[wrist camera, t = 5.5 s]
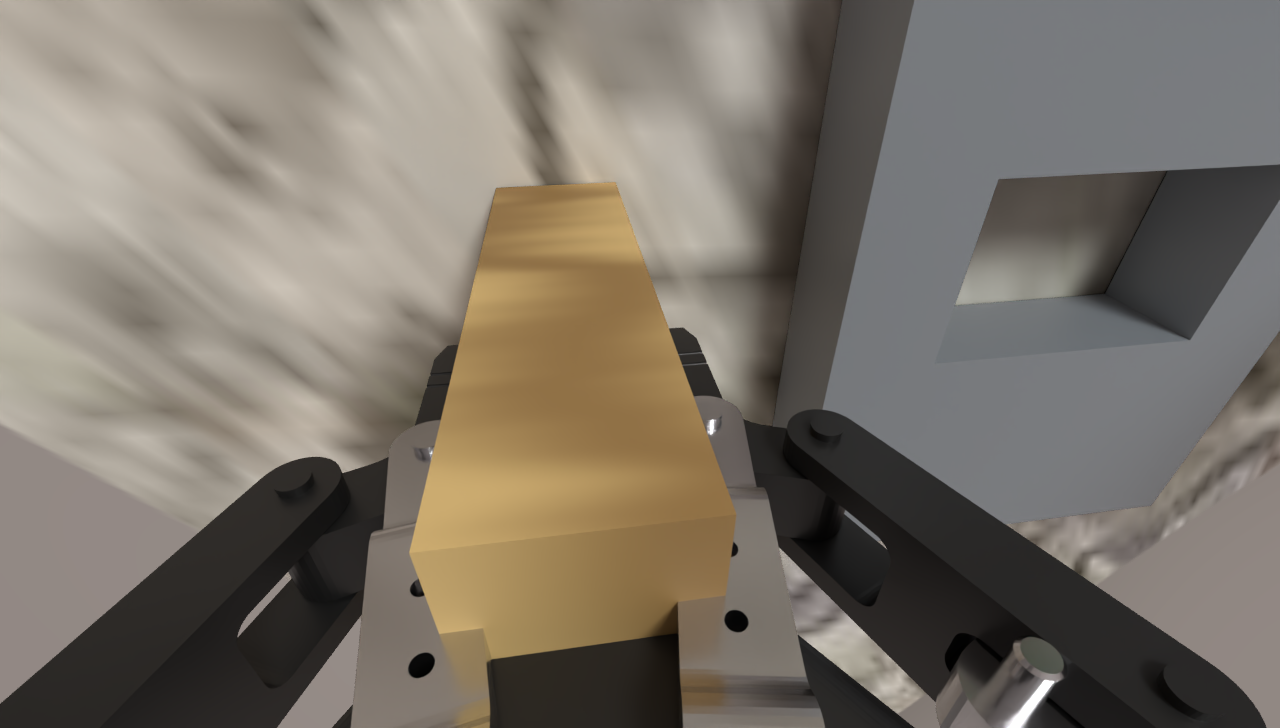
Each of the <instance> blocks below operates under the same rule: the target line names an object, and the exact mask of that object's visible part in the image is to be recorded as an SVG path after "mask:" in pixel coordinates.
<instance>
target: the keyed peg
mask: <svg viewBox="0 0 1280 728" xmlns="http://www.w3.org/2000/svg"><path fill="white" fill-rule="evenodd" d="M736 515H737V514H736V512H735V509H734V506H733V503H732V501H731V498H730V495H729V492H728V490H727V487H726V484H725V481H724V479H723V476H722V473H721V470H720V468H719V465H718V462H717V459H716V457H715V454H714V451H713V448H712V446H711V443H710V440H709V438H708V435H707V432H706V429H705V427H704V424H703V421H702V418H701V416H700V413H699V410H698V407H697V405H696V402H695V399H694V396H693V394H692V391H691V388H690V385H689V383H688V380H687V377H686V374H685V372H684V369H683V366H682V363H681V361H680V358H679V355H678V352H677V350H676V347H675V344H674V342H673V339H672V336H671V333H670V331H669V328H668V325H667V322H666V320H665V317H664V314H663V311H662V309H661V306H660V303H659V300H658V298H657V295H656V292H655V289H654V287H653V284H652V281H651V278H650V276H649V273H648V270H647V267H646V265H645V262H644V259H643V257H642V254H641V251H640V248H639V246H638V243H637V240H636V237H635V235H634V232H633V229H632V226H631V224H630V221H629V218H628V215H627V213H626V210H625V207H624V204H623V202H622V199H621V196H620V193H619V191H618V188H617V185H616V182H612V183H591V184H569V185H548V186H527V187H506V188H496V191H495V195H494V199H493V204H492V208H491V212H490V216H489V220H488V225H487V229H486V233H485V237H484V241H483V246H482V250H481V254H480V258H479V262H478V266H477V271H476V275H475V279H474V283H473V287H472V292H471V296H470V300H469V304H468V308H467V313H466V317H465V321H464V325H463V329H462V334H461V338H460V342H459V346H458V350H457V354H456V359H455V363H454V367H453V371H452V375H451V380H450V384H449V388H448V392H447V396H446V401H445V405H444V409H443V413H442V417H441V422H440V426H439V430H438V434H437V438H436V442H435V447H434V451H433V455H432V459H431V463H430V468H429V472H428V476H427V480H426V484H425V489H424V493H423V497H422V501H421V505H420V510H419V514H418V518H417V522H416V526H415V530H414V535H413V539H412V543H411V547H410V551H409V554H410V557H411V559H412V562H413V565H414V568H415V570H416V573H417V576H418V578H419V581H420V584H421V586H422V589H423V592H424V595H425V597H426V600H427V603H428V605H429V608H430V611H431V613H432V616H433V619H434V621H435V624H436V627H437V630H438V632H439V634H443V633H450V632H458V631H465V630H473V629H480V628H483V630H484V633H485V637H486V640H487V644H488V647H489V651H490V654H491V659H497V658H504V657H512V656H519V655H526V654H533V653H540V652H547V651H554V650H561V649H568V648H575V647H582V646H589V645H597V644H604V643H611V642H618V641H625V640H632V639H639V638H646V637H653V636H660V635H667V634H675V633H677V631H676V627H677V608H678V602H681V601H688V600H695V599H703V598H710V597H718V596H725V595H726V590H727V582H728V575H729V567H730V560H731V553H732V545H733V538H734V530H735V523H736Z"/></svg>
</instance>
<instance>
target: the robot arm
mask: <svg viewBox="0 0 1280 728" xmlns="http://www.w3.org/2000/svg"><path fill="white" fill-rule="evenodd" d="M669 331H670V333H671V336H672V339H673V342H674V344H675V347H676V350H677V352H678V355H679V358H680V361H681V363H682V366H683V369H684V372H685V374H686V377H687V380H688V383H689V385H690V388H691V391H692V394H693V396H694V399H695V402H696V405H697V407H698V410H699V413H700V416H701V418H702V421H703V424H704V427H705V429H706V432H707V435H708V438H709V440H710V443H711V446H712V448H713V451H714V454H715V457H716V459H717V462H718V465H719V468H720V470H721V473H722V476H723V479H724V481H725V484H726V487H727V490H728V492H729V495H730V498H731V501H732V503H733V506H734V509H735V512H736V514H737V515H736V523H735V530H734V538H733V545H732V553H731V560H730V567H729V575H728V582H727V590H726V595H725V596H718V597H710V598H703V599H695V600H688V601H681V602H678V608H677V627H676V631H677V633H675V634H667V635H660V636H653V637H646V638H639V639H632V640H625V641H618V642H611V643H604V644H597V645H589V646H582V647H575V648H568V649H561V650H554V651H547V652H540V653H533V654H526V655H519V656H512V657H504V658H497V659H491V654H490V651H489V647H488V644H487V640H486V637H485V633H484V630H483V628H480V629H473V630H465V631H458V632H450V633H443V634H439V632H438V630H437V627H436V624H435V621H434V619H433V616H432V613H431V611H430V608H429V605H428V603H427V600H426V597H425V595H424V592H423V589H422V586H421V584H420V581H419V578H418V576H417V573H416V570H415V568H414V565H413V562H412V559H411V557H410V554H409V551H410V547H411V543H412V539H413V535H414V530H415V526H416V522H417V518H418V514H419V510H420V505H421V501H422V497H423V493H424V489H425V484H426V480H427V476H428V472H429V468H430V463H431V459H432V455H433V451H434V447H435V442H436V438H437V434H438V430H439V426H440V422H441V417H442V413H443V409H444V405H445V401H446V396H447V392H448V388H449V384H450V380H451V375H452V371H453V367H454V363H455V359H456V354H457V350H458V346H459V345H452V346H447V347H446V348H445V349H444V350H443V351H442V352H441V353H440V354H439V355H438V356H437V357H436V358H435V360H434V363H433V366H432V370H431V373H430V374H431V376H430V377H429V380H428V383H427V388H426V390H425V394H424V397H423V400H422V404H421V407H420V411H419V414H418V417H417V421H416V424H415V426H413V427H411V428H409V429H408V430H406V431H404V432H403V433H402V434H400V435H399V436H398V437H397V438H396V439H395V441H394V442H393V443H392V445H391V447H390V451H389V457H387V458H386V459H383V460H381V461H379V462H376V463H374V464H371V465H368V466H364V467H361V468H358V469H355V470H352V471H349V472H346V473H342V472H341V469H340V467H339V465H338V464H337V463H336V462H334V461H333V460H331V459H328V458H323V457H308V458H302V459H298V460H294V461H291V462H289V463H286V464H284V465H281V466H280V467H278V468H276V469H274V470H272V471H271V472H269V473H268V474H267V475H265V476H264V477H263V478H261V479H260V480H259V481H258V482H257V483H256V484H254V485H253V486H252V487H251V488H250V489H249V490H248V491H246V492H245V493H244V494H243V495H242V496H241V497H239V498H238V499H237V500H236V501H235V502H234V503H232V504H231V505H230V506H229V507H228V508H227V509H226V510H224V511H223V512H222V513H221V514H220V515H219V516H217V517H216V518H215V519H214V520H213V521H212V522H210V523H209V524H208V525H207V526H206V527H205V528H203V529H202V530H201V531H200V532H199V533H198V534H197V535H196V536H194V537H193V538H192V539H191V540H190V541H189V542H187V543H186V544H185V545H184V546H183V547H181V548H180V549H179V550H178V551H177V552H176V553H175V554H174V555H172V556H171V557H170V558H169V559H168V560H166V561H165V562H164V563H163V564H162V565H161V566H159V567H158V568H157V569H156V570H155V571H154V572H153V573H151V574H150V575H149V576H148V577H147V578H146V579H144V580H143V581H142V582H141V583H140V584H139V585H137V586H136V587H135V588H134V589H133V590H132V591H130V592H129V593H128V594H127V595H126V596H125V597H124V598H122V599H121V600H120V601H119V602H118V603H117V604H116V605H114V606H113V607H112V608H111V609H110V610H108V611H107V612H106V613H105V614H104V615H103V616H102V617H100V618H99V619H98V620H97V621H96V622H95V623H93V624H92V625H91V626H90V627H89V628H88V629H86V630H85V631H84V632H83V633H82V634H81V635H80V636H78V637H77V638H76V639H75V640H74V641H73V642H71V643H70V644H69V645H68V646H67V647H66V648H64V649H63V650H62V651H61V652H60V653H59V654H58V655H56V656H55V657H54V658H53V659H52V660H51V661H49V662H48V663H47V664H46V665H45V666H44V667H42V668H41V669H40V670H39V671H38V672H37V673H35V674H34V675H33V676H32V677H31V678H30V679H29V680H28V681H26V682H25V683H24V684H23V685H22V686H20V687H19V688H18V689H17V690H16V691H15V692H14V693H12V694H11V695H10V696H9V697H8V698H6V699H5V700H4V701H3V702H2V703H1V704H0V728H277V727H278V725H279V724H280V723H281V721H282V720H283V719H284V717H285V716H286V715H287V713H288V712H289V710H290V709H291V708H292V706H293V705H294V704H295V703H296V701H297V700H298V698H299V697H300V696H301V695H302V693H303V692H304V691H305V689H306V688H307V687H308V685H309V684H310V683H311V681H312V680H313V679H314V677H315V676H316V674H317V673H318V672H319V671H320V669H321V668H322V667H323V665H324V664H325V663H326V661H327V660H328V659H329V657H330V656H331V655H332V653H333V652H334V651H335V649H336V648H337V647H338V645H339V644H340V643H341V641H342V640H343V639H344V637H345V636H346V635H347V633H348V632H349V631H350V629H351V628H352V627H353V625H354V624H355V622H356V621H357V620H358V619H359V617H360V616H361V615H362V619H361V629H360V639H359V649H358V659H357V669H356V679H355V690H354V700H353V705H352V706H351V707H350V708H349V709H348V710H347V712H346V713H345V714H344V715H343V716H342V717H341V718H340V719H339V720H338V722H337V723H336V724H335V725H334V726H333V727H332V728H914V727H913V726H912V725H910V724H909V723H908V722H906V721H905V720H904V719H903V718H901V717H900V716H899V715H898V714H897V713H895V712H894V711H893V710H892V709H890V708H889V707H888V706H886V705H885V704H884V703H883V702H881V701H880V700H879V699H878V698H876V697H875V696H874V695H873V694H871V693H870V692H869V691H868V690H866V689H865V688H864V687H863V686H861V685H860V684H859V683H858V682H856V681H855V680H854V679H853V678H851V677H850V676H849V675H848V674H846V673H845V672H844V671H843V670H841V669H840V668H839V667H838V666H836V665H835V664H834V663H833V662H831V661H830V660H829V659H828V658H826V657H825V656H824V655H823V654H821V653H820V652H819V651H817V650H816V649H815V648H814V647H812V646H811V645H810V644H809V643H807V642H806V641H805V640H804V639H802V638H801V637H800V636H799V635H797V630H796V626H795V621H794V616H793V612H792V607H791V602H790V598H789V593H788V588H787V584H786V579H785V574H784V570H783V565H782V560H781V555H780V551H779V548H780V549H782V550H783V551H784V552H785V553H786V554H787V555H788V556H789V557H790V558H791V559H792V560H793V561H794V562H795V563H796V564H797V565H798V566H799V567H800V568H801V569H802V570H803V571H804V572H805V573H806V574H807V575H808V576H809V577H810V578H811V579H812V580H813V581H814V582H815V583H816V584H817V585H818V586H819V587H820V588H821V589H822V590H823V591H824V592H825V593H826V594H827V595H828V596H829V597H830V598H831V599H832V600H833V601H834V602H835V603H836V604H837V605H838V606H839V607H840V608H841V609H842V610H843V611H844V612H845V613H846V614H847V615H848V616H849V617H850V618H851V619H852V620H853V621H854V622H855V623H856V624H857V625H858V626H859V627H860V628H861V629H862V630H863V631H864V632H865V633H866V634H867V635H868V636H869V637H870V638H871V639H872V640H873V641H874V642H875V643H876V644H877V645H878V646H879V647H880V648H881V649H882V650H883V651H884V652H885V653H886V654H887V655H888V656H889V657H890V658H891V659H892V660H893V661H895V662H896V663H897V664H898V665H899V666H900V667H901V668H902V669H903V670H904V671H905V672H906V673H907V674H908V675H909V676H910V677H911V678H912V679H913V680H914V681H915V682H916V683H917V684H918V685H919V686H920V687H921V688H922V689H923V690H924V691H925V692H926V693H927V694H928V695H929V696H930V697H931V698H932V699H933V700H934V701H935V702H936V713H937V719H938V722H939V725H940V728H1266V725H1265V723H1264V721H1263V719H1262V717H1261V715H1260V713H1259V712H1258V710H1257V708H1256V707H1255V706H1254V704H1253V702H1252V701H1251V700H1250V699H1249V698H1248V697H1247V695H1246V694H1245V693H1244V692H1243V691H1242V690H1241V689H1240V688H1239V687H1238V686H1237V685H1236V684H1235V683H1234V682H1233V681H1232V680H1231V679H1230V678H1229V677H1227V676H1226V675H1225V674H1224V673H1223V672H1221V671H1220V670H1219V669H1217V668H1216V667H1215V666H1213V665H1212V664H1210V663H1209V662H1208V661H1206V660H1205V659H1203V658H1202V657H1200V656H1198V655H1197V654H1196V653H1194V652H1193V651H1191V650H1190V649H1188V648H1187V647H1185V646H1184V645H1182V644H1181V643H1179V642H1178V641H1176V640H1175V639H1174V638H1172V637H1171V636H1169V635H1168V634H1166V633H1164V632H1163V631H1162V630H1160V629H1159V628H1157V627H1156V626H1154V625H1153V624H1151V623H1150V622H1148V621H1147V620H1145V619H1144V618H1143V617H1141V616H1140V615H1138V614H1137V613H1135V612H1134V611H1132V610H1131V609H1129V608H1128V607H1126V606H1125V605H1123V604H1122V603H1120V602H1119V601H1117V600H1116V599H1115V598H1113V597H1112V596H1110V595H1109V594H1107V593H1106V592H1104V591H1103V590H1101V589H1100V588H1098V587H1097V586H1095V585H1094V584H1092V583H1091V582H1090V581H1088V580H1087V579H1085V578H1084V577H1082V576H1081V575H1079V574H1078V573H1076V572H1075V571H1073V570H1072V569H1070V568H1069V567H1067V566H1066V565H1064V564H1063V563H1061V562H1060V561H1059V560H1057V559H1056V558H1054V557H1053V556H1051V555H1050V554H1048V553H1047V552H1045V551H1044V550H1042V549H1041V548H1039V547H1038V546H1036V545H1035V544H1033V543H1032V542H1030V541H1029V540H1028V539H1026V538H1025V537H1023V536H1022V535H1020V534H1019V533H1017V532H1016V531H1014V530H1013V529H1011V528H1010V527H1008V526H1007V525H1005V524H1004V523H1002V522H1001V521H1000V520H998V519H997V518H995V517H994V516H992V515H991V514H989V513H988V512H986V511H985V510H983V509H982V508H980V507H979V506H977V505H976V504H974V503H973V502H971V501H970V500H969V499H967V498H966V497H964V496H963V495H961V494H960V493H958V492H957V491H955V490H954V489H952V488H951V487H949V486H948V485H946V484H945V483H943V482H942V481H941V480H939V479H938V478H936V477H935V476H933V475H932V474H930V473H929V472H927V471H926V470H924V469H923V468H921V467H920V466H918V465H917V464H915V463H914V462H912V461H911V460H910V459H908V458H907V457H905V456H904V455H902V454H901V453H899V452H898V451H896V450H895V449H893V448H892V447H890V446H889V445H887V444H886V443H884V442H883V441H882V440H880V439H879V438H877V437H876V436H874V435H873V434H871V433H870V432H868V431H867V430H865V429H864V428H862V427H861V426H859V425H858V424H856V423H855V422H853V421H852V420H850V419H849V418H847V417H845V416H843V415H841V414H839V413H836V412H832V411H828V410H821V409H811V410H805V411H801V412H799V413H797V414H795V415H794V416H792V417H791V418H790V420H789V421H788V424H787V428H781V427H773V426H766V425H759V424H755V423H751V422H749V421H746V420H744V419H743V416H742V414H741V412H740V410H739V409H738V408H737V407H736V406H734V405H733V404H732V403H730V402H728V401H726V400H724V399H722V396H721V394H720V392H719V389H718V387H717V385H716V382H715V380H714V378H713V375H712V373H711V371H710V369H709V366H708V364H707V363H706V359H705V357H704V355H703V354H702V350H701V348H700V345H699V343H698V341H697V338H696V337H694V336H693V335H692V334H690V333H689V332H688V331H687V330H685V329H684V328H671V329H669ZM845 510H846V511H847V512H849V513H850V514H851V515H852V516H853V517H855V518H856V519H857V520H858V521H859V522H861V523H862V524H863V525H864V526H866V527H867V528H868V529H869V530H870V531H872V532H873V533H874V534H875V535H876V536H877V537H879V538H880V540H881V541H882V542H883V543H884V545H885V546H886V548H887V549H886V548H885V547H883V546H882V545H881V544H880V543H879V542H877V541H876V540H875V539H874V538H873V537H871V536H870V535H869V534H868V533H867V532H865V531H864V530H863V529H862V528H861V527H859V526H858V525H857V524H856V523H855V522H853V521H852V520H851V519H850V518H849V517H847V516H846V515H845V514H844V513H845ZM287 572H289V574H290V576H291V577H292V579H291V580H290V581H289V582H288V583H287V584H286V585H285V586H284V588H283V589H282V590H281V591H280V592H279V593H278V594H277V595H276V596H275V598H274V599H273V600H272V601H271V602H270V603H269V604H268V605H267V606H266V607H265V608H264V610H263V611H262V612H261V613H260V614H259V615H258V616H257V617H256V618H255V620H253V622H252V623H251V624H250V625H249V626H248V627H247V628H246V629H245V630H244V631H243V633H242V634H241V635H240V636H239V637H238V638H237V635H238V632H239V629H240V627H241V625H242V623H243V621H244V620H245V618H246V617H247V615H248V614H249V613H250V612H251V611H252V610H253V609H254V608H255V607H256V606H257V604H258V603H259V602H260V601H261V600H262V599H263V598H264V597H265V596H266V595H267V594H268V593H269V592H270V590H271V589H272V588H273V587H274V586H275V585H276V584H277V583H278V582H279V581H280V580H281V579H282V578H283V576H284V575H285V574H286V573H287Z"/></svg>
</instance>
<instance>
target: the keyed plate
mask: <svg viewBox="0 0 1280 728" xmlns="http://www.w3.org/2000/svg"><path fill="white" fill-rule="evenodd" d="M1165 170H1168V171H1167V173H1166V175H1165V177H1164V179H1163V181H1162V183H1161V185H1160V187H1159V189H1158V191H1157V193H1156V195H1155V197H1154V199H1153V201H1152V203H1151V205H1150V207H1149V209H1148V211H1147V213H1146V215H1145V217H1144V218H1143V220H1142V222H1141V224H1140V226H1139V228H1138V230H1137V232H1136V234H1135V236H1134V238H1133V240H1132V242H1131V244H1130V246H1129V248H1128V250H1127V252H1126V254H1125V256H1124V258H1123V260H1122V262H1121V264H1120V265H1119V267H1118V269H1117V271H1116V273H1115V275H1114V277H1113V279H1112V281H1111V283H1110V285H1109V287H1108V289H1107V291H1106V293H1105V294H1096V295H1083V296H1071V297H1058V298H1046V299H1033V300H1021V301H1008V302H996V303H983V304H970V305H958V306H955V303H956V300H957V298H958V295H959V292H960V289H961V286H962V283H963V280H964V277H965V275H966V272H967V269H968V266H969V263H970V260H971V257H972V254H973V252H974V249H975V246H976V243H977V240H978V237H979V234H980V231H981V229H982V226H983V223H984V220H985V217H986V214H987V211H988V208H989V206H990V203H991V200H992V197H993V194H994V191H995V188H996V185H997V182H998V180H999V179H1012V178H1031V177H1050V176H1069V175H1088V174H1107V173H1126V172H1146V171H1165ZM1279 331H1280V0H842V5H841V11H840V17H839V23H838V29H837V36H836V42H835V48H834V54H833V60H832V66H831V72H830V78H829V84H828V90H827V97H826V103H825V109H824V115H823V121H822V127H821V133H820V139H819V145H818V151H817V157H816V164H815V170H814V176H813V182H812V188H811V194H810V200H809V206H808V212H807V218H806V225H805V231H804V237H803V243H802V249H801V255H800V261H799V267H798V273H797V279H796V286H795V292H794V298H793V304H792V310H791V316H790V322H789V328H788V334H787V340H786V346H785V353H784V359H783V365H782V371H781V377H780V383H779V389H778V395H777V401H776V407H775V414H774V420H773V427H781V428H787V424H788V421H789V420H790V418H791V417H792V416H794V415H795V414H797V413H799V412H801V411H805V410H811V409H821V410H828V411H832V412H836V413H839V414H841V415H843V416H845V417H847V418H849V419H850V420H852V421H853V422H855V423H856V424H858V425H859V426H861V427H862V428H864V429H865V430H867V431H868V432H870V433H871V434H873V435H874V436H876V437H877V438H879V439H880V440H882V441H883V442H884V443H886V444H887V445H889V446H890V447H892V448H893V449H895V450H896V451H898V452H899V453H901V454H902V455H904V456H905V457H907V458H908V459H910V460H911V461H912V462H914V463H915V464H917V465H918V466H920V467H921V468H923V469H924V470H926V471H927V472H929V473H930V474H932V475H933V476H935V477H936V478H938V479H939V480H941V481H942V482H943V483H945V484H946V485H948V486H949V487H951V488H952V489H954V490H955V491H957V492H958V493H960V494H961V495H963V496H964V497H966V498H967V499H969V500H970V501H971V502H973V503H974V504H976V505H977V506H979V507H980V508H982V509H983V510H985V511H986V512H988V513H989V514H991V515H992V516H994V517H995V518H997V519H998V520H1000V521H1001V522H1002V523H1004V524H1012V523H1020V522H1027V521H1035V520H1043V519H1051V518H1058V517H1066V516H1074V515H1081V514H1089V513H1097V512H1105V511H1112V510H1120V509H1128V508H1136V507H1143V506H1151V505H1152V504H1153V502H1154V501H1155V500H1156V498H1157V497H1158V496H1159V494H1160V493H1161V491H1162V490H1163V489H1164V487H1165V486H1166V485H1167V483H1168V482H1169V481H1170V479H1171V478H1172V477H1173V475H1174V474H1175V472H1176V471H1177V470H1178V468H1179V467H1180V466H1181V464H1182V463H1183V462H1184V460H1185V459H1186V458H1187V456H1188V455H1189V453H1190V452H1191V451H1192V449H1193V448H1194V447H1195V445H1196V444H1197V443H1198V441H1199V440H1200V438H1201V437H1202V436H1203V434H1204V433H1205V432H1206V430H1207V429H1208V428H1209V426H1210V425H1211V424H1212V422H1213V421H1214V419H1215V418H1216V417H1217V415H1218V414H1219V413H1220V411H1221V410H1222V409H1223V407H1224V406H1225V404H1226V403H1227V402H1228V400H1229V399H1230V398H1231V396H1232V395H1233V394H1234V392H1235V391H1236V390H1237V388H1238V387H1239V385H1240V384H1241V383H1242V381H1243V380H1244V379H1245V377H1246V376H1247V375H1248V373H1249V372H1250V371H1251V369H1252V368H1253V366H1254V365H1255V364H1256V362H1257V361H1258V360H1259V358H1260V357H1261V356H1262V354H1263V353H1264V351H1265V350H1266V349H1267V347H1268V346H1269V345H1270V343H1271V342H1272V341H1273V339H1274V338H1275V337H1276V335H1277V334H1278V332H1279ZM844 514H845V515H846V516H847V517H849V518H850V519H851V520H852V521H853V522H855V523H856V524H857V525H858V526H859V527H861V528H862V529H863V530H864V531H865V532H867V533H868V534H869V535H870V536H871V537H873V538H874V539H875V540H876V541H880V538H879V537H877V536H876V535H875V534H874V533H873V532H872V531H870V530H869V529H868V528H867V527H866V526H864V525H863V524H862V523H861V522H859V521H858V520H857V519H856V518H855V517H853V516H852V515H851V514H850V513H849V512H847V511H846V510H845V513H844Z"/></svg>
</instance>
